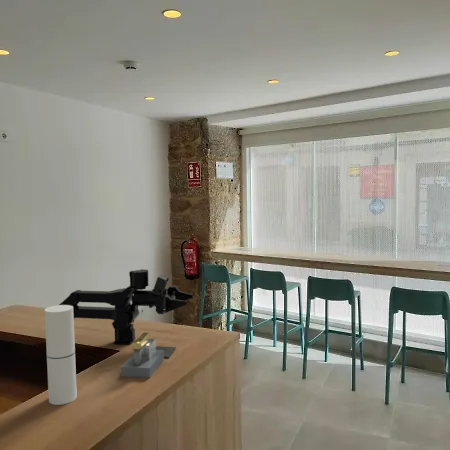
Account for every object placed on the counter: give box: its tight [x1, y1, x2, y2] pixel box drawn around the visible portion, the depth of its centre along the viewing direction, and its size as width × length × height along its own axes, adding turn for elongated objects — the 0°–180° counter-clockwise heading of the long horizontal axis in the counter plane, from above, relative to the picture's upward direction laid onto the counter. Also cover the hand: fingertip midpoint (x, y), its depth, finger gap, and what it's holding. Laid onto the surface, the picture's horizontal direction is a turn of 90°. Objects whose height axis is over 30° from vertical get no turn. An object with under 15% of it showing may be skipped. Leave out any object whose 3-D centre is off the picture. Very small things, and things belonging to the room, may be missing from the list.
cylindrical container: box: [44, 304, 78, 406], centre depth 119 cm, size 7×7×25 cm
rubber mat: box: [156, 345, 176, 359], centre depth 153 cm, size 12×9×1 cm
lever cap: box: [140, 337, 157, 360], centre depth 142 cm, size 5×7×4 cm
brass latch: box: [132, 332, 150, 352], centre depth 138 cm, size 3×10×2 cm, turn 172°
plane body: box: [120, 350, 165, 379], centre depth 140 cm, size 9×15×8 cm, turn 172°
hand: (190, 299), depth 159 cm, fingers open, 9 cm apart
